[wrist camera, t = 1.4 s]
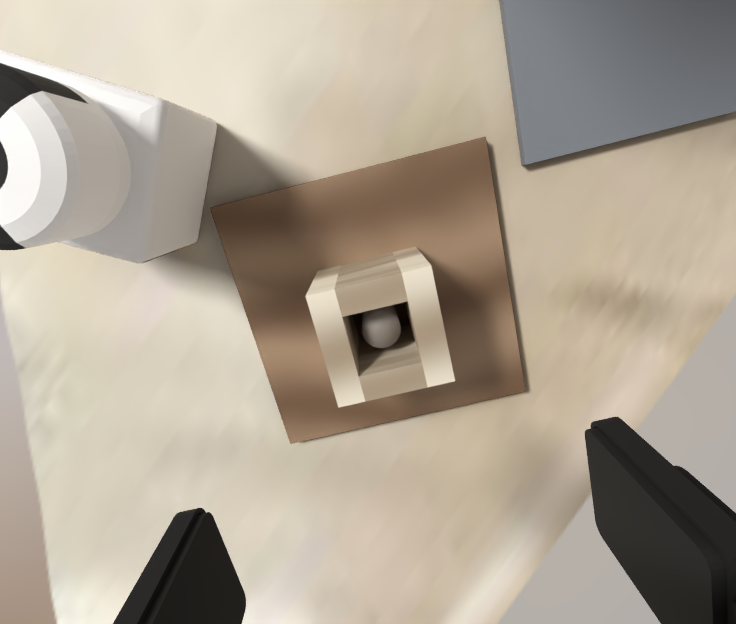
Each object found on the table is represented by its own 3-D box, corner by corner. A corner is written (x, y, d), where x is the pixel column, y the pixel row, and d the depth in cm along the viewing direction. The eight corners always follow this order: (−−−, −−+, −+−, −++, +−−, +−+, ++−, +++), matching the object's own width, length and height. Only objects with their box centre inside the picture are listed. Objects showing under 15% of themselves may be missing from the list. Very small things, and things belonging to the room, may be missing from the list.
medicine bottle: (78, 211, 26) (-150, 237, 14) (90, 82, 24) (-163, -9, 12) (198, 244, 26) (73, 294, 15) (220, 121, 24) (95, 69, 13)
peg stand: (214, 206, 26) (178, 213, 21) (481, 137, 25) (512, 127, 20) (292, 437, 30) (278, 488, 25) (521, 385, 29) (554, 428, 24)
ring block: (317, 270, 26) (305, 296, 20) (415, 246, 26) (431, 265, 20) (343, 360, 28) (338, 407, 22) (435, 339, 28) (455, 381, 22)
